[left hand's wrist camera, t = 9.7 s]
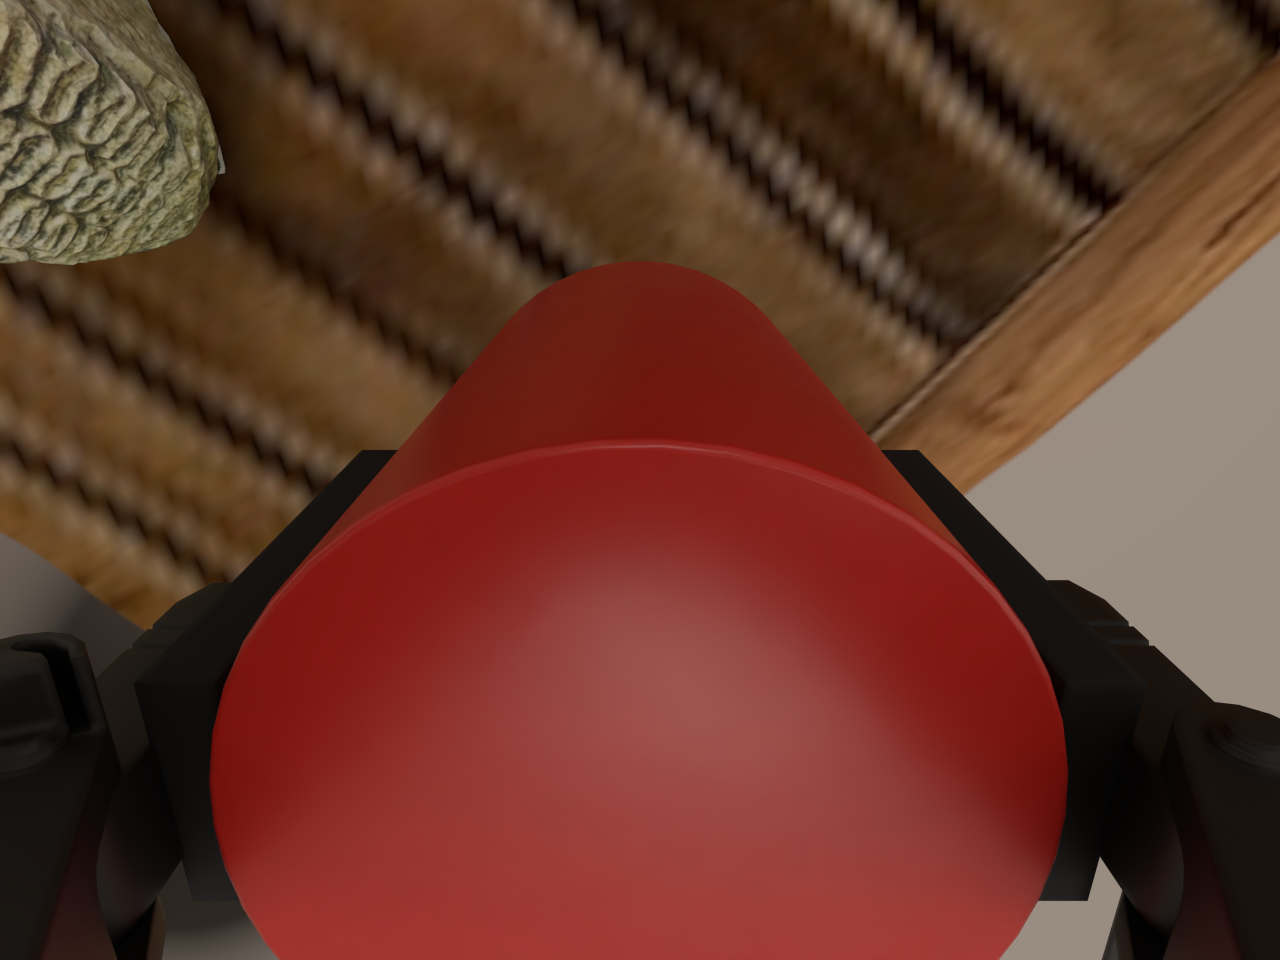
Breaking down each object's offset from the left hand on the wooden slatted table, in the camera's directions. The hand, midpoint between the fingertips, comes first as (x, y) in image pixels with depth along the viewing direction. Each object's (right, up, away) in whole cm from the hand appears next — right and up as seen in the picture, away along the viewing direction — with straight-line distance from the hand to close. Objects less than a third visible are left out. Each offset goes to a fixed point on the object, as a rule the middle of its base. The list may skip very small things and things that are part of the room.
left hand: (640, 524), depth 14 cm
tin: (0, +2, +5) cm, 5 cm away
